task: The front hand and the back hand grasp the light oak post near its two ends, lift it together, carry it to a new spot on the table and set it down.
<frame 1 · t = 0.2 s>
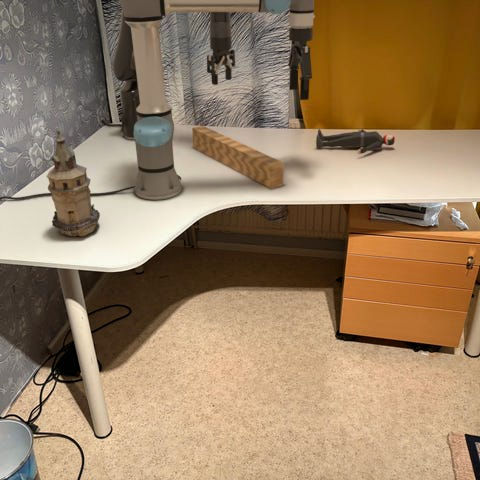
front hand: (298, 94, 180), 27 cm above the table, tool pointing down, fingers open, 13 cm apart
back hand: (221, 82, 194), 28 cm above the table, tool pointing down, fingers open, 8 cm apart
post: (234, 164, 198), on the table
toy: (354, 147, 213), on the table
miniature building: (78, 229, 156), on the table
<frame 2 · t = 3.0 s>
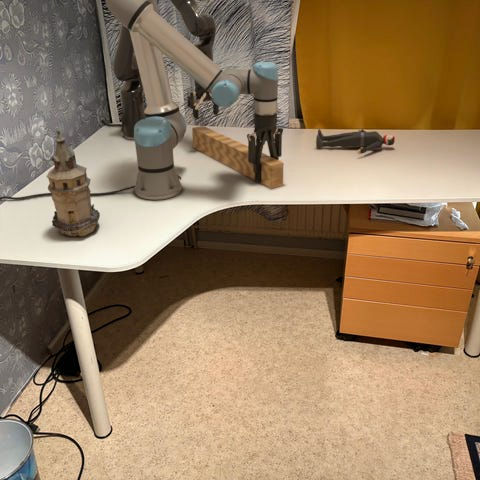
front hand: (264, 179, 184), 1 cm above the table, tool pointing down, fingers closed on post, 5 cm apart
back hand: (206, 116, 204), 14 cm above the table, tool pointing down, fingers open, 8 cm apart
post: (234, 164, 198), on the table, touching front hand
everything else where it was.
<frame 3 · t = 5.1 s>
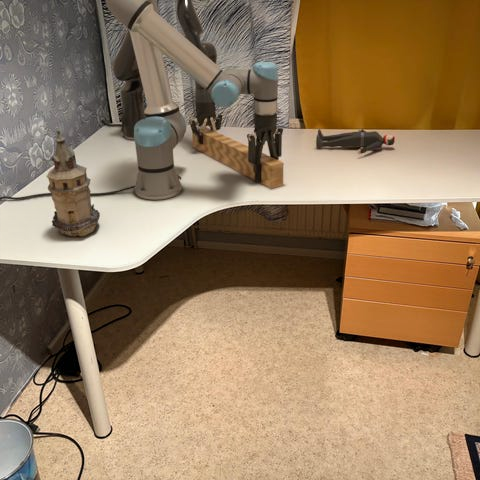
front hand: (264, 179, 184), 1 cm above the table, tool pointing down, fingers closed on post, 5 cm apart
back hand: (207, 142, 209), 4 cm above the table, tool pointing down, fingers closed on post, 5 cm apart
post: (234, 164, 198), on the table, touching front hand, back hand
everything else where it was.
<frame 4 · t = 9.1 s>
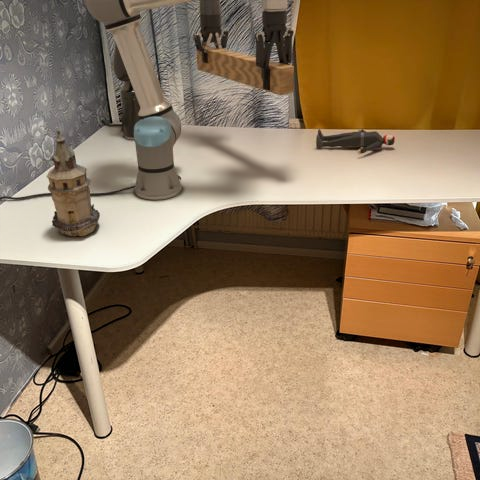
front hand: (273, 87, 172), 31 cm above the table, tool pointing down, fingers closed on post, 5 cm apart
back hand: (212, 61, 198), 33 cm above the table, tool pointing down, fingers closed on post, 5 cm apart
post: (241, 80, 186), point 30 cm above the table, touching front hand, back hand
everything else where it was.
when the front hand's fingers open (2 cm above the table, at t = 15.2 s): post drops 2 cm, on the table.
when the back hand's fingers open (5 cm above the table, at t = 15.3 s): post stays where it is, on the table.
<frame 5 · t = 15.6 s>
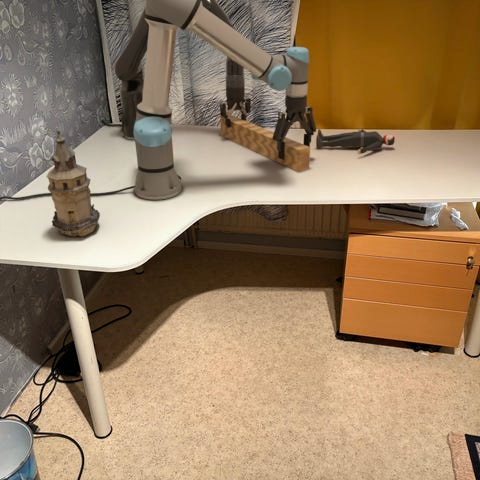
front hand: (293, 155, 195), 4 cm above the table, tool pointing down, fingers open, 11 cm apart
back hand: (235, 125, 221), 6 cm above the table, tool pointing down, fingers open, 7 cm apart
post: (261, 150, 211), on the table
everything else where it was.
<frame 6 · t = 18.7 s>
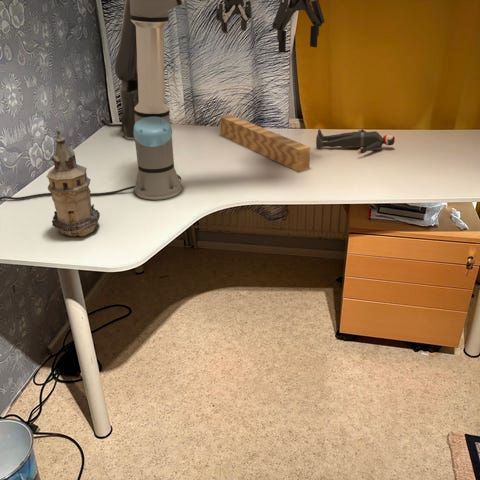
front hand: (297, 49, 177), 41 cm above the table, tool pointing down, fingers open, 13 cm apart
back hand: (234, 31, 203), 42 cm above the table, tool pointing down, fingers open, 8 cm apart
nothing on the table moved.
at the end: post inside the target area (0.7 cm from its centre), on the table; post tilted 0°; post never tilted more than 2° during the clip; both hands held the post at the same time; the front hand is holding nothing; the back hand is holding nothing; post at rest at the end (0.0 cm/s) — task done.
